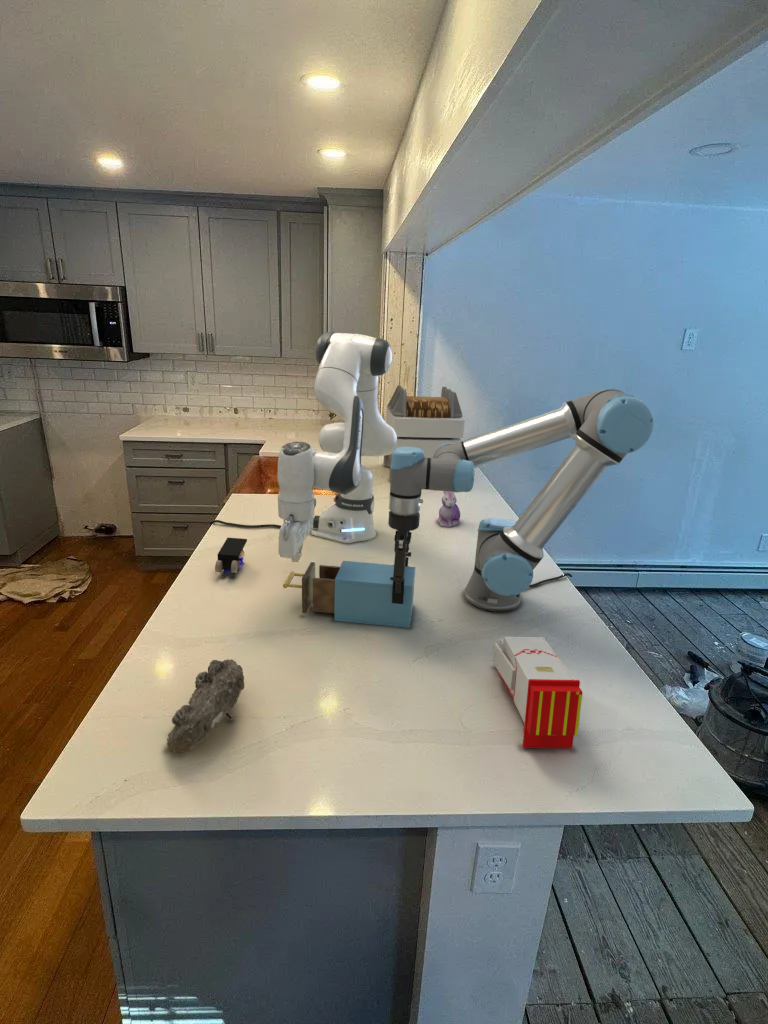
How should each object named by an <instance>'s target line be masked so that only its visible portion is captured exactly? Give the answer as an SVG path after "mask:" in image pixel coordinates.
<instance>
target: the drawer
mask: <svg viewBox="0 0 768 1024" xmlns="http://www.w3.org/2000/svg"><path fill="white" fill-rule="evenodd" d="M340 567H341V566H336V565H325V564H319V566H318V573H319V574H318V577H316V562H315V561H310V563H309V565H308V567H307V568H306V570H305V572H304V573H298V572H295V571H291V572H289V574H288V576H287V578H286V580H285V581H284V582H283V584H282V587H283V589H287V588H293V589H301V614H307V613H308V612H309V609H310V607H311V605H312V612H317V613H325V614H327V613H328V614H334V608H335V578H336V576H337V573H338V571H339V569H340ZM294 577H301V584H292V581H293V579H294Z"/></svg>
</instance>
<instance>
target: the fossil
mask: <svg viewBox="0 0 768 1024" xmlns="http://www.w3.org/2000/svg"><path fill="white" fill-rule="evenodd" d="M243 670H244V669H243V667H242V665H240V664H237V662H236V661H235V660H234V659H232V658H231V659H227V658H226V659H224V660H223V661H222V660H217V659H212V660H211V661H210V663H209V665H208V666H207V671H201V672H199V673H198V674H197V675H196V676H195V680H194V684H195V685H194V687H195V689H194V690H193V693H192V694H191V697H190V698H189V700H188V704H184V705H182V706H181V707H180V709H177V710H176V711H175V713H174V715H173V716H172V718H171V723H172V724H173V727H172V730H171V731H170V732H168V734H167V738H166V741H167V742H166V745H167V749H168V750H169V751H173V752H174V753H176V754H178V753H182V752H188V751H189V752H192V751H193V750H195V748H196V747H197V746H199V744H200V743H201V742H203V741H204V740H205V739H206V738H207V737H208V736H209V735H210V734H211V733H212V732H214V730H215V729H217V727H218V726H219V724H220V722H221V721H222V720H223V719H224V718H225V716H226V717H227V719H229V720H233V717H232V715H230V714H229V710H230V709H231V708H234V706H235V704H236V703H237V702H238V699H239V697H240V695H241V693H242V691H243V690H245V689H244V688H245V675H244V671H243Z"/></svg>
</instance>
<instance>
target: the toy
mask: <svg viewBox="0 0 768 1024" xmlns="http://www.w3.org/2000/svg"><path fill="white" fill-rule="evenodd" d="M491 662H492V663H493V665H494V667H495V669H496V671H497V673H498V675H499V676H500V678H501V680H502V683H503V684H504V686H505V688H506V689H507V691H508V693H509V695H510V697H511V698H512V700H513V702H514V705H515V707H516V709H517V711H518V713H519V715H520V717H521V719H522V722H523V724H524V725H523V736H522V748H524V749H573V747H574V738H575V736H577V737H578V734H579V725H580V717H581V710H582V709H581V708H582V701H583V700H582V699H583V690H582V689H581V688H580V685H581V681H580V679H574V677H573V676H572V675H571V673H570V672H569V670H568V669H567V668H566V667H565V665H564V664H563V662H562V661H561V660H560V658H559V657H558V656H557V654H556V653H555V651H554V650H553V649H552V647H551V645H550V643H549V642H547V640H546V639H545V637H543V636H542V637H541V636H535V637H534V636H503V637H500V638H499V642H498V643H497V642H494V643H493V649H492V657H491Z"/></svg>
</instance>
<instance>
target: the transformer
mask: <svg viewBox="0 0 768 1024" xmlns="http://www.w3.org/2000/svg"><path fill="white" fill-rule="evenodd" d="M440 393H441V394H440V396H415V395H414V396H413V395H412V396H411V395H407V394H408V393H407V390H406V389H404V388H403V387H402V385H399V384H398V385H397V386H396V388H395V390H394V392H393V394H392V395H391V398H390V400H389V402H388V404H387V405H386V413H385V414H386V415H385V422H386V423H387V424H388V425H390V426H391V427H392V428H393V429H394V430H395V432H396V435H397V445H396V448H399V447H415V448H420V449H422V450H423V451H424V456H425V457H426V458H427V459H428V458H433V456H434V453H435V451H436V449H437V448H438V447H439V446H441V445H443V444H456V443H459V442H463V441H464V440H462V439H463V438H464V431H465V430H464V429H465V419H464V418H463V411H462V408H461V405H460V402H459V398H458V395H457V392H455V391H453V390H452V389H451V388H447V386H442V387H441V392H440ZM396 448H395V449H396ZM392 453H393V452H392ZM392 453H391V454H390V455H385V456H383V466H384V467H388V468H389V475H388V476H389V477H388V478H389V481H390V480H391V463H392Z"/></svg>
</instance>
